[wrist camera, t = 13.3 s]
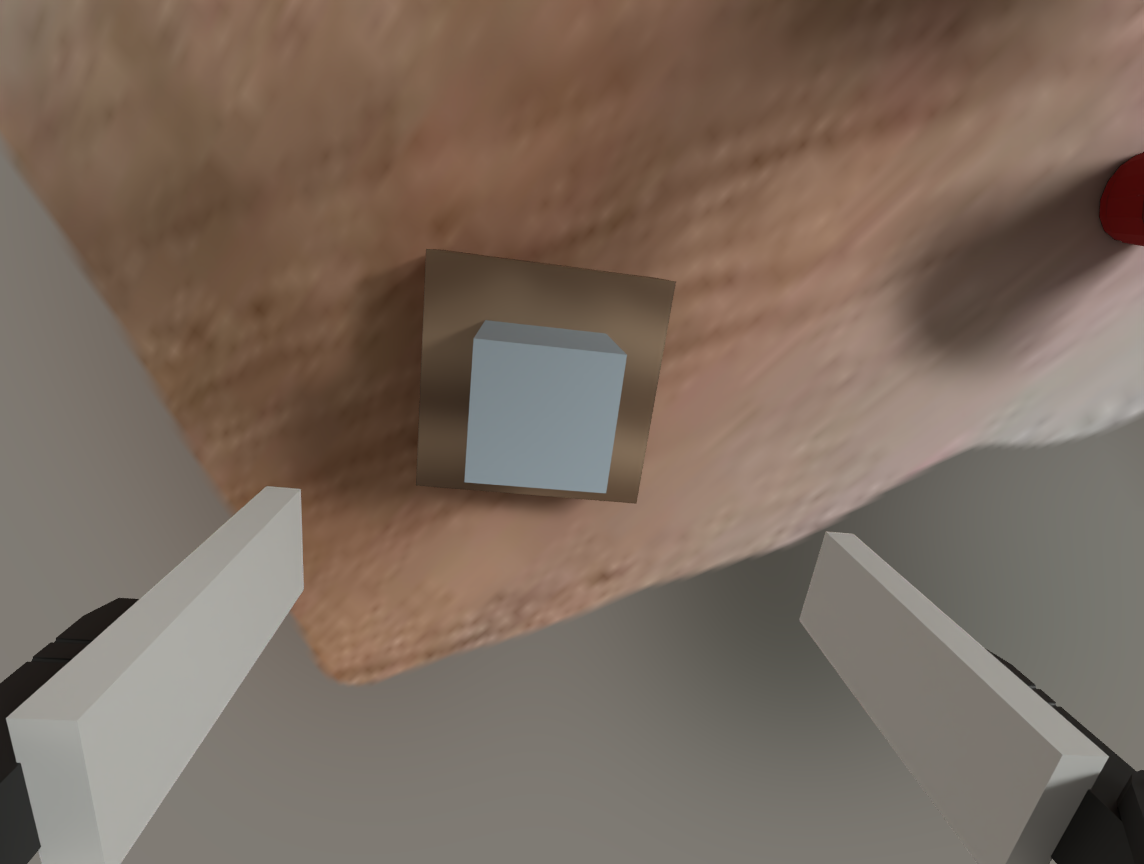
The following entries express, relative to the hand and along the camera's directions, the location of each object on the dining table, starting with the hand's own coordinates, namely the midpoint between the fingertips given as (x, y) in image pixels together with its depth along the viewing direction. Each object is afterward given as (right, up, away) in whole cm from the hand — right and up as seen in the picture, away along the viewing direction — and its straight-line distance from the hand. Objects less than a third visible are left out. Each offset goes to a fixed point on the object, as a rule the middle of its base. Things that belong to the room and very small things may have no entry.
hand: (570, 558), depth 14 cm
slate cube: (-2, +6, +19) cm, 20 cm away
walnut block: (-2, +7, +23) cm, 25 cm away
